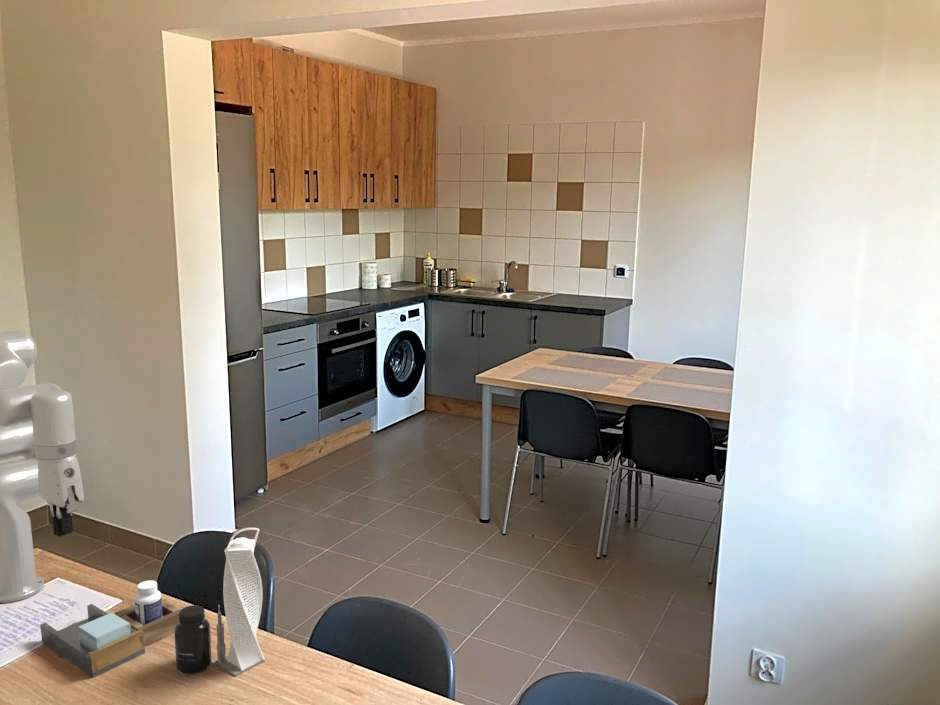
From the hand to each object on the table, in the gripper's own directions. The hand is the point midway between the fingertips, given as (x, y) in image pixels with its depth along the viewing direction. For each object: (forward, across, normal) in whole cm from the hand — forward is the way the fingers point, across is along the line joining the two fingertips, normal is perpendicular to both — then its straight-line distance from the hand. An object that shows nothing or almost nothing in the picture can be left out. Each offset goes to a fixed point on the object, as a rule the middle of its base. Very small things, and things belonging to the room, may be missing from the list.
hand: (63, 533), depth 162 cm
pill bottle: (+22, -12, -11) cm, 28 cm away
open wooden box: (+23, -10, -11) cm, 27 cm away
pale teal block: (+22, -14, 0) cm, 26 cm away
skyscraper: (+23, -38, -16) cm, 47 cm away
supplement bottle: (+23, -31, -9) cm, 40 cm away
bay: (+23, -8, 0) cm, 25 cm away
